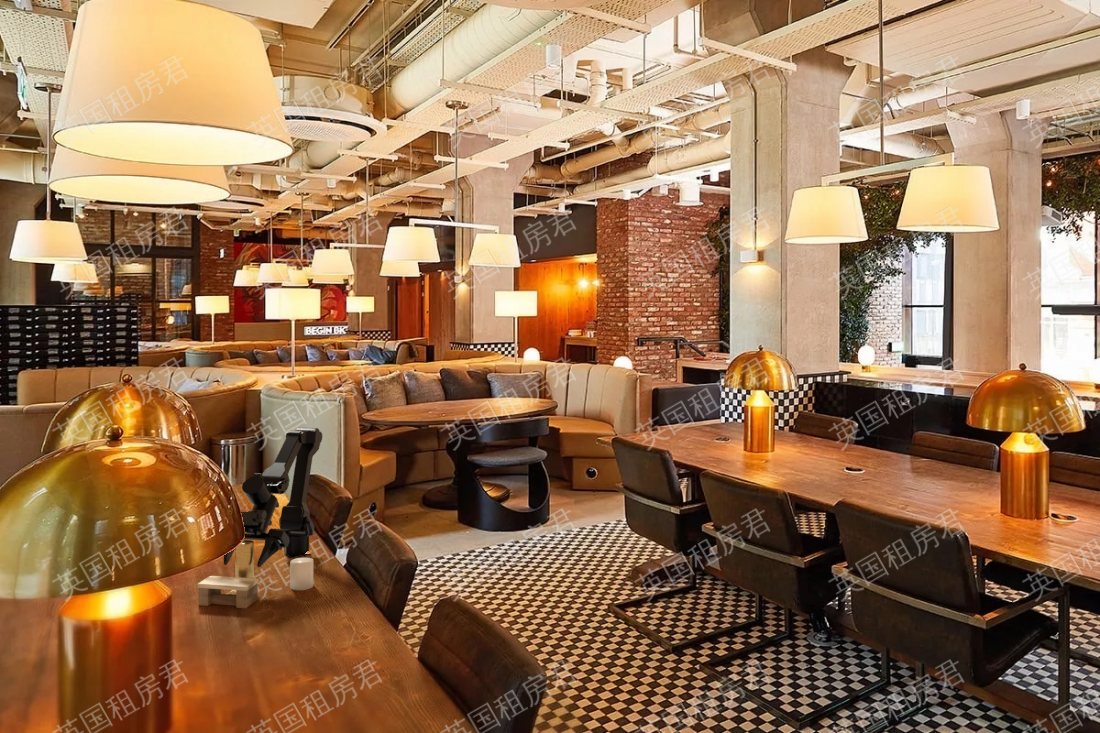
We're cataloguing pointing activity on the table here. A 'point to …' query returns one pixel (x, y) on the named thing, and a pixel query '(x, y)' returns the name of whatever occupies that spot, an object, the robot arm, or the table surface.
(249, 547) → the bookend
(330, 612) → the table surface
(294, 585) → the white cylinder
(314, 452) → the robot arm
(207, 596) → the bridge
